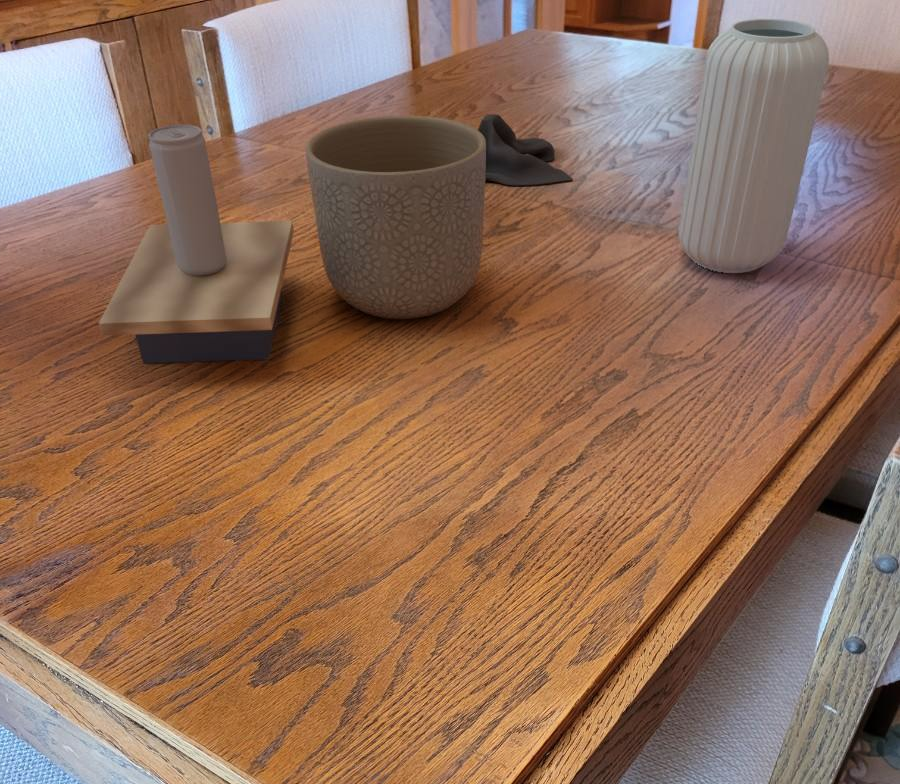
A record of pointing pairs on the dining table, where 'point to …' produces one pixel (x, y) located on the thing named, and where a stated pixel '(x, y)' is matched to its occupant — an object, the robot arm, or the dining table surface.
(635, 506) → the dining table surface
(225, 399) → the dining table surface
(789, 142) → the vase
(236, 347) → the crate
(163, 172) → the beverage can
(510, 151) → the cloth
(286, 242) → the board
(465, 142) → the planter
